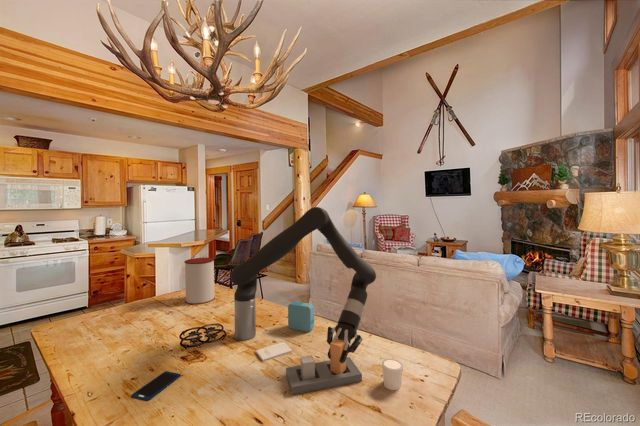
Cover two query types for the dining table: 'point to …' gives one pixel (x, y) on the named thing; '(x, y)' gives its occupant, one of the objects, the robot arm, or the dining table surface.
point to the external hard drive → (273, 351)
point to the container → (199, 280)
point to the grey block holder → (319, 375)
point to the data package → (301, 316)
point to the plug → (337, 356)
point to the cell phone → (155, 386)
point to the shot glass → (392, 373)
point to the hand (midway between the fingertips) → (335, 360)
